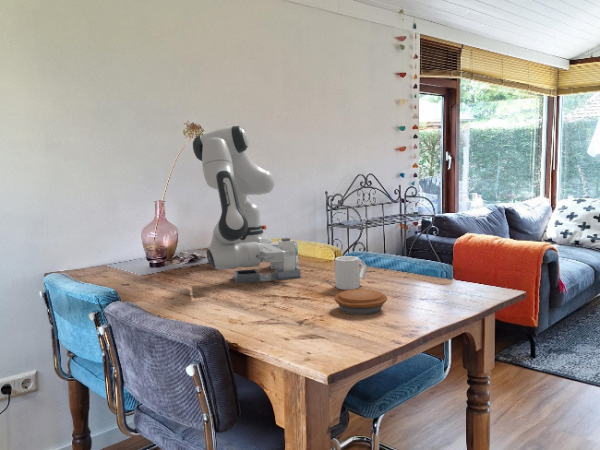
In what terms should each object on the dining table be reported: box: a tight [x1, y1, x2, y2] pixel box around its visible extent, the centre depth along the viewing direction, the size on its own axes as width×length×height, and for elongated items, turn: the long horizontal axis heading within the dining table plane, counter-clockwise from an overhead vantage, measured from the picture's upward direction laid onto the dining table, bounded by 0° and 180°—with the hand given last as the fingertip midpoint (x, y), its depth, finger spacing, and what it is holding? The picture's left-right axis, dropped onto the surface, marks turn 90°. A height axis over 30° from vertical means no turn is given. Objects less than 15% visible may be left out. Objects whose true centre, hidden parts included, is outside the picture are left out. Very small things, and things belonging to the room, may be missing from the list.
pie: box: [333, 288, 388, 315], centre depth 165 cm, size 15×16×5 cm
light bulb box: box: [269, 241, 299, 270], centre depth 224 cm, size 11×7×11 cm, turn 84°
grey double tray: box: [232, 266, 303, 285], centre depth 207 cm, size 24×12×4 cm, turn 103°
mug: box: [334, 255, 368, 291], centre depth 194 cm, size 12×9×10 cm
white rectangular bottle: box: [277, 237, 295, 271], centre depth 208 cm, size 4×4×14 cm
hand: (288, 250), depth 208 cm, fingers open, 8 cm apart
